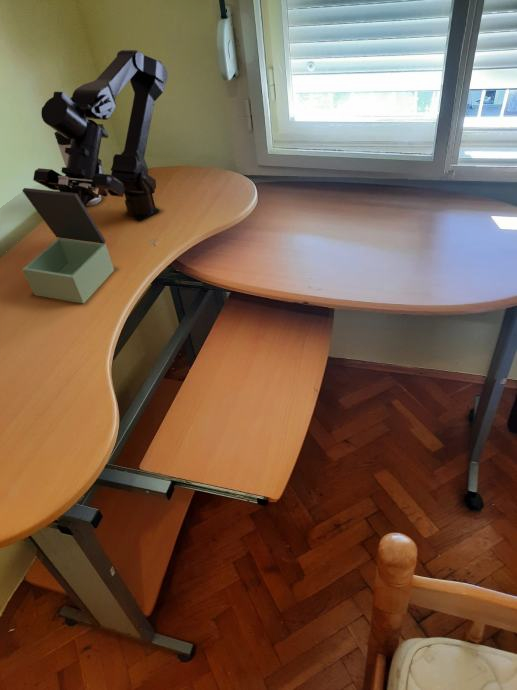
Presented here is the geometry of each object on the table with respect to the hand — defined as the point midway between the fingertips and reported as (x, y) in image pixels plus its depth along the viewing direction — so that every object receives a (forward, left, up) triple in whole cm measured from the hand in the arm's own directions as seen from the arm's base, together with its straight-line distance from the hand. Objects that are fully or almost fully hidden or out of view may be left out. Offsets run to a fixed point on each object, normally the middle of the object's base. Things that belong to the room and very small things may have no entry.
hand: (72, 222), depth 98 cm
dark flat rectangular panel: (+1, +1, +2) cm, 2 cm away
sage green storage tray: (+5, +2, -12) cm, 13 cm away
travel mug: (-18, -29, -12) cm, 36 cm away
